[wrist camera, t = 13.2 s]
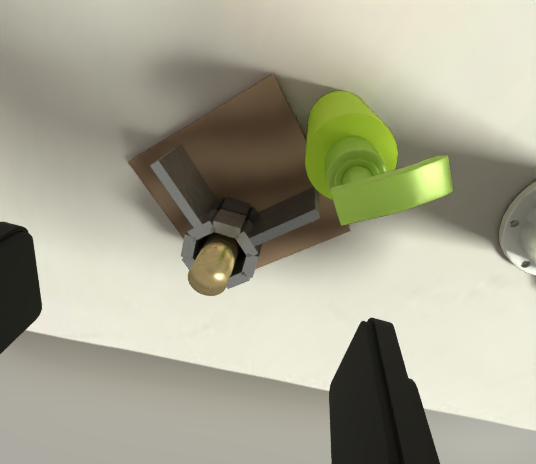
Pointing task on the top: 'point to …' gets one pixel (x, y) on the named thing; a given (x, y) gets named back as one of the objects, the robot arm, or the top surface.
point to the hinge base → (247, 164)
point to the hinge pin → (214, 264)
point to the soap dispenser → (365, 162)
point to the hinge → (229, 214)
